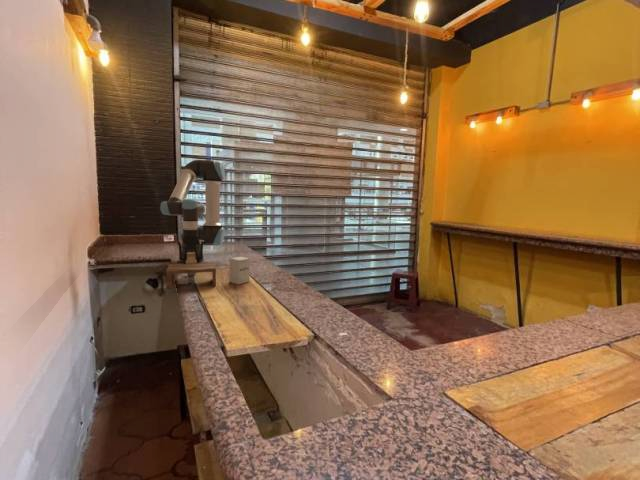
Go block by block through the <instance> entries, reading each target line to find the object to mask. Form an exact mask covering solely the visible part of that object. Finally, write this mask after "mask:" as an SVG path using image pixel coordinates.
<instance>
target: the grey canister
mask: <svg viewBox="0 0 640 480" xmlns="http://www.w3.org/2000/svg"><path fill="white" fill-rule="evenodd" d="M249 282H250V257H249V258H248V257H243V256H236V257H231V258H229V283H233V284H236V285H240V284H245V283H249Z"/></svg>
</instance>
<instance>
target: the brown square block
mask: <svg viewBox="0 0 640 480" xmlns="http://www.w3.org/2000/svg"><path fill="white" fill-rule="evenodd" d="M188 277H189V275H188V274H187V275H178V276H177V285H188V284H189V285H190V283H189V278H188Z"/></svg>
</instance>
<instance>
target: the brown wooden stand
mask: <svg viewBox="0 0 640 480" xmlns="http://www.w3.org/2000/svg"><path fill="white" fill-rule="evenodd" d="M216 269H217V268H216V263H215V262H199V263H186V264H183V263H169V264H168V266H167V268H166V271H165V272H166V273H165V274H166V290H172V288H173V282H172V280H173V279H172V275H173V274H177V275H178V274H188V273H197V274H198V273H211V275H212V287H213V286H216V287H217V273H216V271H217V270H216Z"/></svg>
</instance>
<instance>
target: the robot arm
mask: <svg viewBox="0 0 640 480" xmlns="http://www.w3.org/2000/svg"><path fill="white" fill-rule="evenodd" d="M179 176H180V177H179V179H178V180H177V182H176V185H175V187H174V189H173V191H172V193H171V195H170V197H169V198H168V201H167V200H165V201H164V200H163V201H162V202H161V203H160V207H159V208H160V212H161V214H162V215H165V216H182V227H181V230H180V238H181V239H180V240H178V241H177V245H178V254H179V257H178V262H179V263H182V264H186V263H187V253H192V252H195V263H202V262H203V261H204V259H205V257H204V246H222V244H223V243H224V240H225V235H226V234H225V233H226V231H225V228H224V227H223V225H222V223H221V222H220V220H221V219H220V217H221V216H220V211H221V210H220V209H221V207H220V203H221V201H220V199H221V197H220V190H221V189H220V188H221V187H220V185H221V184H222V183H223V180H225V179H226V170H225V165H224V163H223V162H222V161H221V160H214V159H213V160H211V159H194V160H192V161H190V162H188V163H187V164H186V165H184V166H183V167H182V169H181V171H179ZM197 179H198V180H199V179H200V180H201V179H202V182H203V183H204V185H205V203H202V202H200V201H198V200H197V199H195V198H194V199H193V198H192V199H191V198H187V196H188V193H189V191H190V189H191V187H192V185H193V182H195V181H197ZM204 214H205V222H204V223H203V224H202V226H201V224H199V216H202V215H204Z"/></svg>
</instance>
